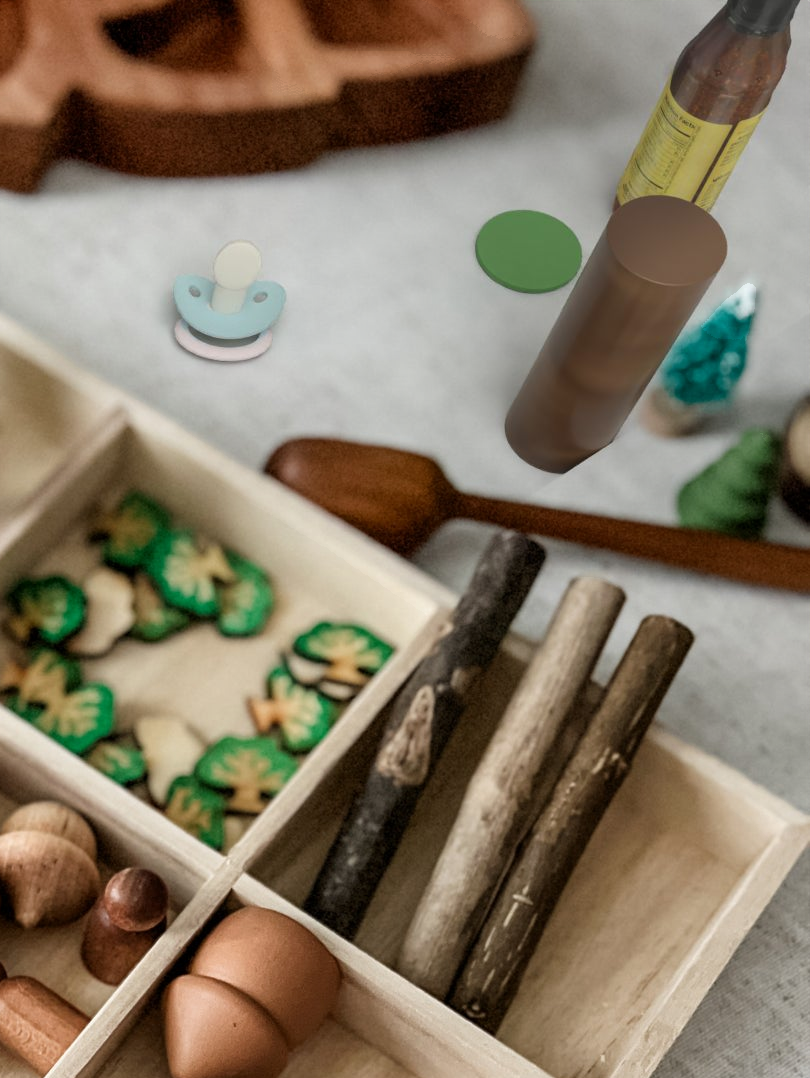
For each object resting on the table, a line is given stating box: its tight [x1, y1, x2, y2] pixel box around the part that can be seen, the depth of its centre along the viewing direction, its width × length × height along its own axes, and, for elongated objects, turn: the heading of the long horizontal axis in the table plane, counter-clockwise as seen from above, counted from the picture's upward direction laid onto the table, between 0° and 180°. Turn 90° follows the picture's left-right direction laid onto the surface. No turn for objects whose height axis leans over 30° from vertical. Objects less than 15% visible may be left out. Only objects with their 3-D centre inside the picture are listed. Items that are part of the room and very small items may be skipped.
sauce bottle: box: [612, 0, 801, 214], centre depth 106 cm, size 7×6×20 cm
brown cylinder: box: [504, 195, 728, 474], centre depth 101 cm, size 7×7×16 cm
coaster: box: [474, 209, 583, 294], centre depth 114 cm, size 7×7×1 cm
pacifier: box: [172, 239, 287, 362], centre depth 109 cm, size 7×6×6 cm
